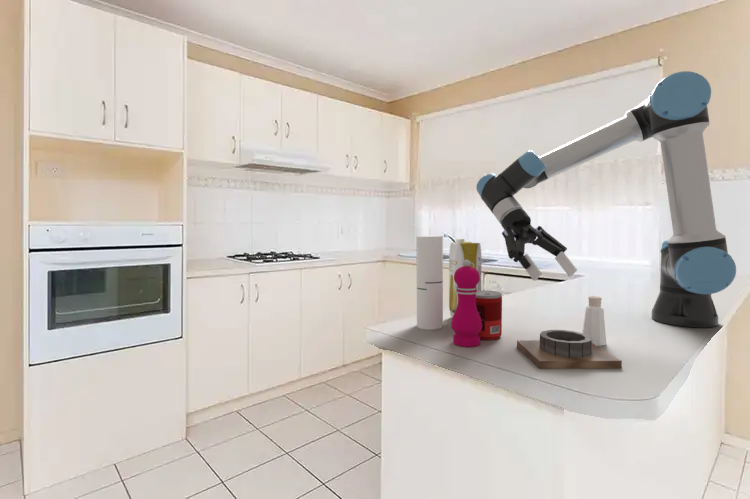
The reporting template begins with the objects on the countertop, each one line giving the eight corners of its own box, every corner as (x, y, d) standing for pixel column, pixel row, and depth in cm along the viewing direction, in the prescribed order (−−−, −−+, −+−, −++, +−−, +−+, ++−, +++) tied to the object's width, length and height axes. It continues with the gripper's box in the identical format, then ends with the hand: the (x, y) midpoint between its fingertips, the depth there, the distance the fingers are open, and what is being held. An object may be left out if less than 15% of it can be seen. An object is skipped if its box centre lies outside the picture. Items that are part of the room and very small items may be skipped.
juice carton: (447, 316, 127) (447, 237, 125) (472, 315, 128) (472, 237, 126) (456, 324, 117) (456, 239, 116) (483, 323, 118) (484, 238, 117)
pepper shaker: (577, 343, 99) (578, 297, 98) (585, 338, 103) (586, 293, 102) (603, 347, 95) (604, 299, 94) (609, 342, 99) (610, 296, 98)
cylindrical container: (442, 330, 112) (442, 236, 110) (415, 329, 113) (415, 236, 111) (443, 323, 119) (443, 235, 117) (418, 322, 120) (417, 235, 118)
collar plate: (587, 346, 96) (587, 327, 96) (621, 368, 82) (622, 345, 82) (516, 346, 96) (517, 327, 96) (539, 368, 82) (539, 346, 82)
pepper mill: (447, 339, 103) (447, 258, 102) (476, 338, 104) (476, 258, 102) (455, 348, 96) (456, 261, 94) (486, 347, 96) (487, 260, 95)
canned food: (503, 333, 108) (504, 291, 107) (498, 342, 100) (499, 296, 99) (473, 330, 111) (473, 289, 110) (467, 338, 103) (467, 294, 103)
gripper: (534, 225, 128) (577, 280, 116) (472, 227, 116) (513, 288, 104) (549, 207, 123) (596, 263, 111) (486, 207, 111) (530, 269, 99)
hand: (556, 275), depth 107 cm, fingers open, 13 cm apart
